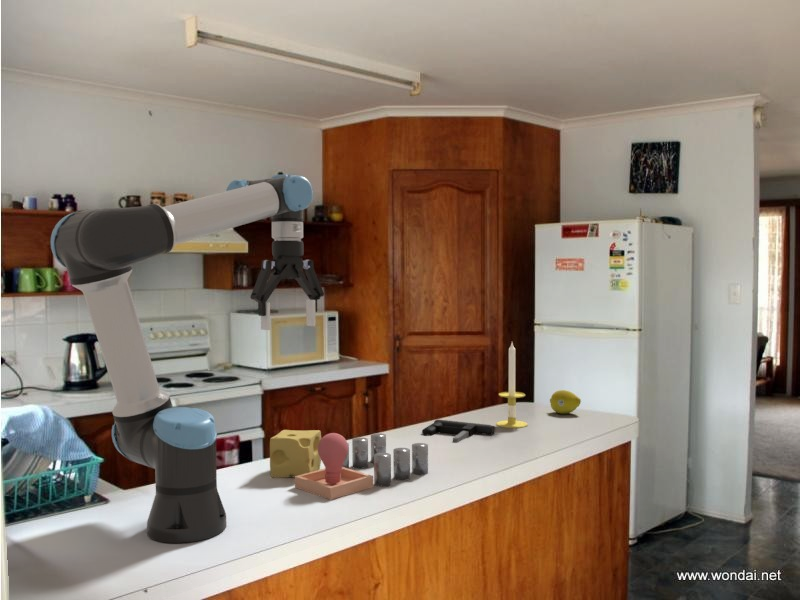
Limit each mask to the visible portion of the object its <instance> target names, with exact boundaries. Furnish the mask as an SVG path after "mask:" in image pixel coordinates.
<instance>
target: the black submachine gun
mask: <svg viewBox="0 0 800 600" xmlns="http://www.w3.org/2000/svg"><path fill="white" fill-rule="evenodd" d="M495 432H496V427H495V426H494V425H491V424H485V423H476V422H466V421H465V422H464V421H455V420H454V421H453V420H446V419H445V420H444V419H435V420H434V421H433V423H431V424H429V425H427V426H426V427H424V428H423V429H422V430H421V434H423V436H433V435H434V434H444V435H453V437H452V442H453V443H460V442H461V441H464V440H465V439H466V438H469V437H472V436H474V435H476V434H479V435H480V434H481V435H489V436H490V435H494V434H495Z"/></svg>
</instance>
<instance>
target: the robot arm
mask: <svg viewBox="0 0 800 600" xmlns="http://www.w3.org/2000/svg"><path fill="white" fill-rule="evenodd" d="M225 190H226V191H222V192H218V193H214V194H209V195H206V196H202V197H198V198H194V199H190V200H186V201H185V200H184V201H181V202H178V203H174V204H169V205H166V206H162V205H160V204H159V203H151V204H146V205H142V206H135V207H132V206H131V207H105V208H98V209H85V210H78V211H77V210H76V211H75V212H72V213H69V214H67V215H64V217H62V218H61V219H59V221H58V222H57V223H56V224H55V226H54V228H53V229H52V232H51V235H50V249H51V252H52V254H53V256H54V258H55V260H56V261H57V262H58V263H60V265H61V266H62V267H64V268H65V269H66V271H67V275H68V278H69V280H70V284H71V286H72V287H74V288H76V289H77V290H79V291H81V292H82V293H83V296H84V300H85V303H86V306H87V311H88V313H89V316H90V319H91V322H92V326H93V329H94V332H95V335H96V338H97V341H98V345H99V348H100V350H101V354H102V358H103V361H104V363H105V367H106V370H107V372H108V373H107V374H108V376H109V380H110V382H111V387H112V390H113V392H114V395H115V399H116V404H115V406H114V407H113V409H112V412H111V413H112V416H113V419H114V423H113V424H112V426H111V439H112V443H113V445H114V447H115V449H116V450H117V452H119V454H121V455H122V456H123V457H125V459H127V460H129V461H130V462H133V463H137V464H139V465H142V466H146V467H148V468H151V469H154V470H155V472H154V474H155V475H154V477H155V478H154V480H155V495H154V498H153V502H152V504H151V507H150V508H151V509H150V511H149V514H148V517H147V518H148V519H147V522H146V533H147V536H148V538H150V539H151V540H154V541H156V542H160V543H169V544H182V543H193V542H197V541H198V542H199V541H202V540H207V539H210V538H212V537H216V536H217V535H219V534H221V533H222V532H223V531H225V529H226V528H227V514H226V513H227V512H226V510H225V507H224V505H223V502H222V500H221V496H220V493H219V491H218V485H217V483H218V482H217V476H218V475H217V437H218V436H217V435H218V433H217V428H216V421H215V417H214V416H213V415H212V414H211V413H210V412H208V411H207V410H204V409H201V408H199V407H198V408H197V407H193V408H192V407H191V408H190V407H187V406H179V407H178V406H177V407H173V404H172V403H173V402H172V399H171V396H170V394H169V393H168V392H167V391H165V390H164V389H163V390H162V389H161V388H160V386H159V383H158V379H157V376H156V374H155V370H154V365H153V363H152V358H151V356H150V353H149V349H148V346H147V342H146V339H145V336H144V333H143V329H142V325H141V322H140V319H139V316H138V315H139V314H138V312H137V308H136V306H135V305H136V304H135V302H134V299H133V296H132V295H133V294H132V291H131V288H130V285H129V282H128V280H129V278H130V275H131V274H132V272H133V267H132V266H134V265H136V264H139V263H142V262H145V261H147V260H149V259H152V258H156V257H158V256H161V255H165V254H168V253H171V252H172V251H173V250H174V248H175V246H176V245H179V244H182V243H186V242H190V241H193V240H196V239H200V238H203V237H207V236H209V235H212V234H217V233H219V232H222V231H226V230H229V229H233V228H236V227H240V226H242V225H246V224H250V223H253V222H256V221H260V220H263V219H267V218H270V217H271V238H272V239H273V240H272V243H271V253H272V254H271V255H272V256H273V257H272V259H273V260H271V259H263V260H262V261H261V265H260V266H261V267H260V271H259V273H258V276H257V279H256V281H255V284H254V286H253V289H252V292H251V294H250V300H254V301H255V302H257V309H258V310H257V313H258V316H259V317H260V330H262V331H263V330H264V331H271V303H270V301H268V300H269V298H270V297H271V295H272V294H273V292H274V291H275V289H276V288H277V286H278V284H279V283H280V282H281V281H283V280H284V279H287V280H289V279H294V280H295V281H296V282H297V283H298V285H299V286H300V288H301V289H302V290H303V292H304V294H306V296H307V297H308V299H306V300H305V313H306V314H305V315H306V316H305V318H306V320H305V321H306V326H308V327H316V323H317V320H316V313H317V312H318V300H320V299H321V297H324V296H325V293H324V290H323V287H322V285H321V282H320V281H319V277H318V275H317V273H316V270H315V267H314V266H315V265H314V264H315V263H314V260H313V259H304V260H303V256H304V254H305V253H304V252H305V251H304V249H305V248H304V242H303V240H302V239H303V238H304V210H306V209H307V208H308V207H310V205H311V204H312V202H313V199H314V191H313V186H312V184H311V182H310V181H309V180H308V179H307V178H306V177H305V176H302V175H295V174H274V175H272V176H271V178H264V179H263V178H262V179H257V180H249V179H248V180H247V179H234V180H232V181H231V182H229V184H228V185H227V187H226V189H225ZM272 270H274V271H273V272H272ZM303 270H304V271H303ZM271 273H272V274H271ZM269 277H270V279H269Z"/></svg>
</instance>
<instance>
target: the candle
mask: <svg viewBox="0 0 800 600" xmlns="http://www.w3.org/2000/svg"><path fill="white" fill-rule="evenodd" d="M498 396H499V397H501V398H506V399H507V419H506V420H505V419H504V420H499V421H497V422H496V423H495V425H496V426H498V427H500V428H505V429H522V428H526V427H528V423H527V422H525V421H522V420H517V402H516V401H517V398H518V399H519V398H524V397H526V394H525V393H524V392H521V391H516V348H515V347H514V343H513V342H511V343H510V346H509V348H508V391H502V392H499V393H498Z"/></svg>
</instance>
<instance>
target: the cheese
mask: <svg viewBox="0 0 800 600" xmlns="http://www.w3.org/2000/svg"><path fill="white" fill-rule="evenodd" d="M321 439H322V431H321V430H319V429H317V430H315V429H313V430H312V429H311V430H310V429H309V430H294V429H293V430H291V429H283V430H281V431H280V432H279V433H277V434H276V435H273V436H272V437H270V439H269V469H270V470H269V471H270V477H271V478H285V479H286V478H287V479H288V478H295V476H298V475H302V474H306V473H310V472H313V471H317V470H321V469H320V468H321V463H322V460H321V458H320V456H319V454H318V444H319V442H320V440H321Z"/></svg>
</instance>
